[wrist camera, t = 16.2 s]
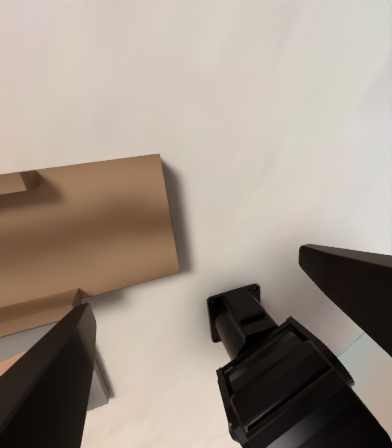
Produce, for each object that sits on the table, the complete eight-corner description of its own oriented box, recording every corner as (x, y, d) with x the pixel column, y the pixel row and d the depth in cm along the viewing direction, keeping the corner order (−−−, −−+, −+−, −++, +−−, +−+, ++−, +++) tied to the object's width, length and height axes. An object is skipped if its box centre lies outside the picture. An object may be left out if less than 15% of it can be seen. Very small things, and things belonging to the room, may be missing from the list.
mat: (109, 393, 24) (108, 403, 23) (-14, 438, 22) (-21, 451, 21) (76, 310, 20) (73, 317, 19) (-81, 352, 18) (-92, 363, 17)
